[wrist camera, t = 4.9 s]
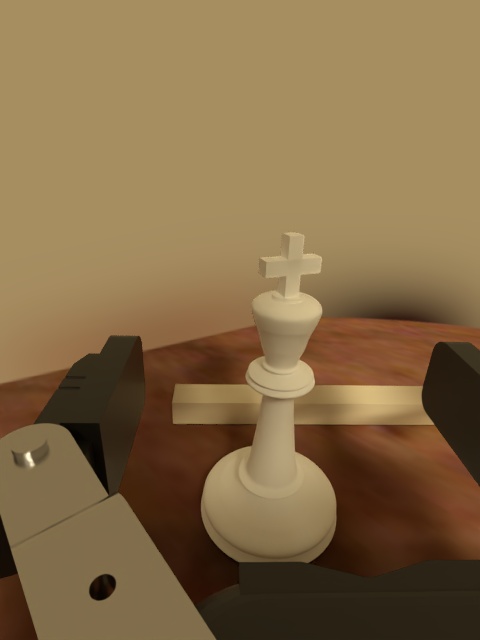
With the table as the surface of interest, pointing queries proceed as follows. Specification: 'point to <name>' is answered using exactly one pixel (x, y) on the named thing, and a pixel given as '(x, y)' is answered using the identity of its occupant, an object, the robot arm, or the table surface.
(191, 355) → the table surface
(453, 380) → the robot arm
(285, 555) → the chess piece
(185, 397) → the track
